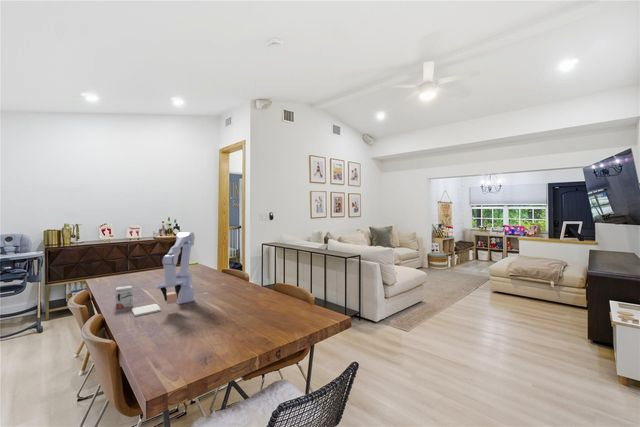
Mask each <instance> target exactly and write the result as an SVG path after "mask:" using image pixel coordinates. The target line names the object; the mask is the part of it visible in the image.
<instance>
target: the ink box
mask: <svg viewBox="0 0 640 427" xmlns="http://www.w3.org/2000/svg"><path fill="white" fill-rule="evenodd" d="M133 299H134V298H133V285H125V286H117V287H116V288H115V309H116V310H117V309H118V310H119V309H124V308H129V307H133V305H134V304H133V303H134V302H133Z"/></svg>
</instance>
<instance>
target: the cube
mask: <svg viewBox="0 0 640 427" xmlns="http://www.w3.org/2000/svg"><path fill="white" fill-rule="evenodd" d="M166 295H167V301H165V300H164V301H165V303H166V304H167V305H170V304H174V303H177V293H176V292H175V291H170V292H167V294H166Z"/></svg>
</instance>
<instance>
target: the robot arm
mask: <svg viewBox="0 0 640 427" xmlns="http://www.w3.org/2000/svg"><path fill="white" fill-rule="evenodd" d="M195 238H196V237H195V233H194V232H193V231H191V232H190V231H188V232H186V231H185V232H184V231H183V232H182V231H181V232H177V233H176V235H175V240H176V241H175V243H174V245H173V246H171V247H170V249H169V251H168V252H167V254H165V255H164V256H163V257H162V260H161V263H162V265H163V269H164V283H161V284H157V285H155V289H156V290H160V291H161V292H162V293H161V294H163V298H164V301H167V295H166V294H167V293H168V292H167V291H168V290H167V289H168V288H172V287H174V292H176V293H177V302H176V303H177V305H181V304H185V303H191V302H195V296H194V295H195V293H194V292H195V290H194V287H193V275H192V274H191V273H190V272H189V267H190V260H191V250H192V247H193V246H194V244H195ZM181 248H182V250H181ZM181 251H182V252H181ZM180 253H181V259H180V266H179V271H178V272H177V270H176V269H177V264H178V260H179V255H180Z"/></svg>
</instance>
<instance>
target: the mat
mask: <svg viewBox="0 0 640 427" xmlns="http://www.w3.org/2000/svg"><path fill="white" fill-rule="evenodd" d="M131 311H132V313H133V316H134V317H139V316H144V315H149V314H153V313H158V312H161V311H162V308H161V307H160V306H159V305H158V304H157V303H153V304H148V305H143V306H137V307H132V308H131Z"/></svg>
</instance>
